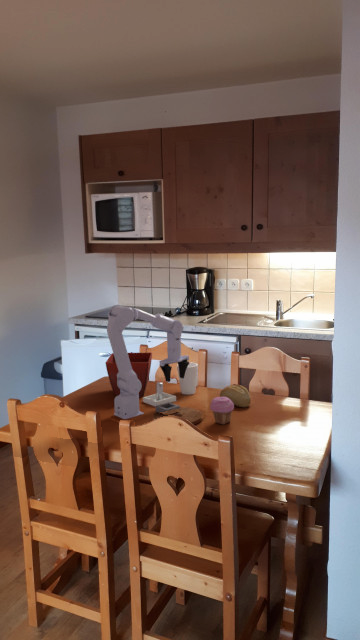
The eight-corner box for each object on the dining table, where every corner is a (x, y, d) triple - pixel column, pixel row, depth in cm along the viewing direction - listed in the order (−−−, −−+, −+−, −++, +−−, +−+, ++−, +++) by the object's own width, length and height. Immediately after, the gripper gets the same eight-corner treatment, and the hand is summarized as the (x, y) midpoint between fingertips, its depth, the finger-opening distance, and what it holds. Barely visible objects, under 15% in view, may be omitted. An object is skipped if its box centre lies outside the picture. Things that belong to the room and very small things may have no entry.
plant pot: (150, 399, 225) (148, 361, 222) (106, 399, 225) (105, 362, 223) (153, 386, 244) (152, 352, 241) (113, 387, 244) (111, 353, 242)
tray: (155, 407, 213) (155, 402, 213) (143, 402, 220) (142, 397, 219) (176, 401, 220) (176, 396, 220) (163, 397, 227) (163, 392, 226)
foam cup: (199, 389, 237) (198, 362, 235) (197, 395, 228) (197, 367, 226) (178, 389, 238) (178, 362, 236) (176, 395, 229) (175, 367, 227)
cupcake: (224, 428, 188) (224, 402, 186) (206, 423, 193) (205, 397, 192) (238, 421, 194) (238, 396, 193) (220, 416, 200) (219, 392, 199)
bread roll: (229, 397, 224) (229, 380, 223) (256, 405, 213) (256, 386, 212) (214, 402, 218) (214, 384, 217) (241, 410, 207) (241, 391, 206)
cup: (166, 417, 201) (166, 409, 201) (155, 412, 207) (155, 405, 206) (180, 412, 206) (179, 405, 205) (169, 408, 211) (168, 401, 211)
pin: (158, 402, 218) (158, 384, 216) (154, 400, 220) (154, 382, 219) (164, 401, 219) (164, 383, 218) (160, 399, 222) (160, 381, 221)
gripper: (166, 352, 207) (167, 384, 209) (193, 346, 216) (194, 378, 218) (155, 349, 212) (157, 381, 214) (182, 344, 221) (183, 375, 223)
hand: (175, 379), depth 216 cm, fingers open, 7 cm apart
